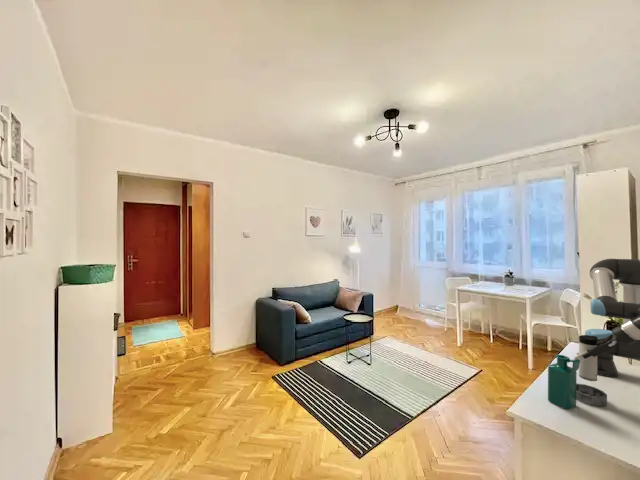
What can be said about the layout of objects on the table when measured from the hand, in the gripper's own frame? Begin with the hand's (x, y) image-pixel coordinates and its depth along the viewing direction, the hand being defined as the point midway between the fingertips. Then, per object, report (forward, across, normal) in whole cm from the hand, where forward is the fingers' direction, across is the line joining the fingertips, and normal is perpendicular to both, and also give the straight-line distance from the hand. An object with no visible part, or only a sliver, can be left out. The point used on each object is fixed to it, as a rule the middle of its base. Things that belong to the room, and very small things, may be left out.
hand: (578, 358), depth 134 cm
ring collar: (+11, 0, -15) cm, 19 cm away
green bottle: (+16, -14, -11) cm, 23 cm away
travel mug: (+4, 0, -9) cm, 9 cm away
